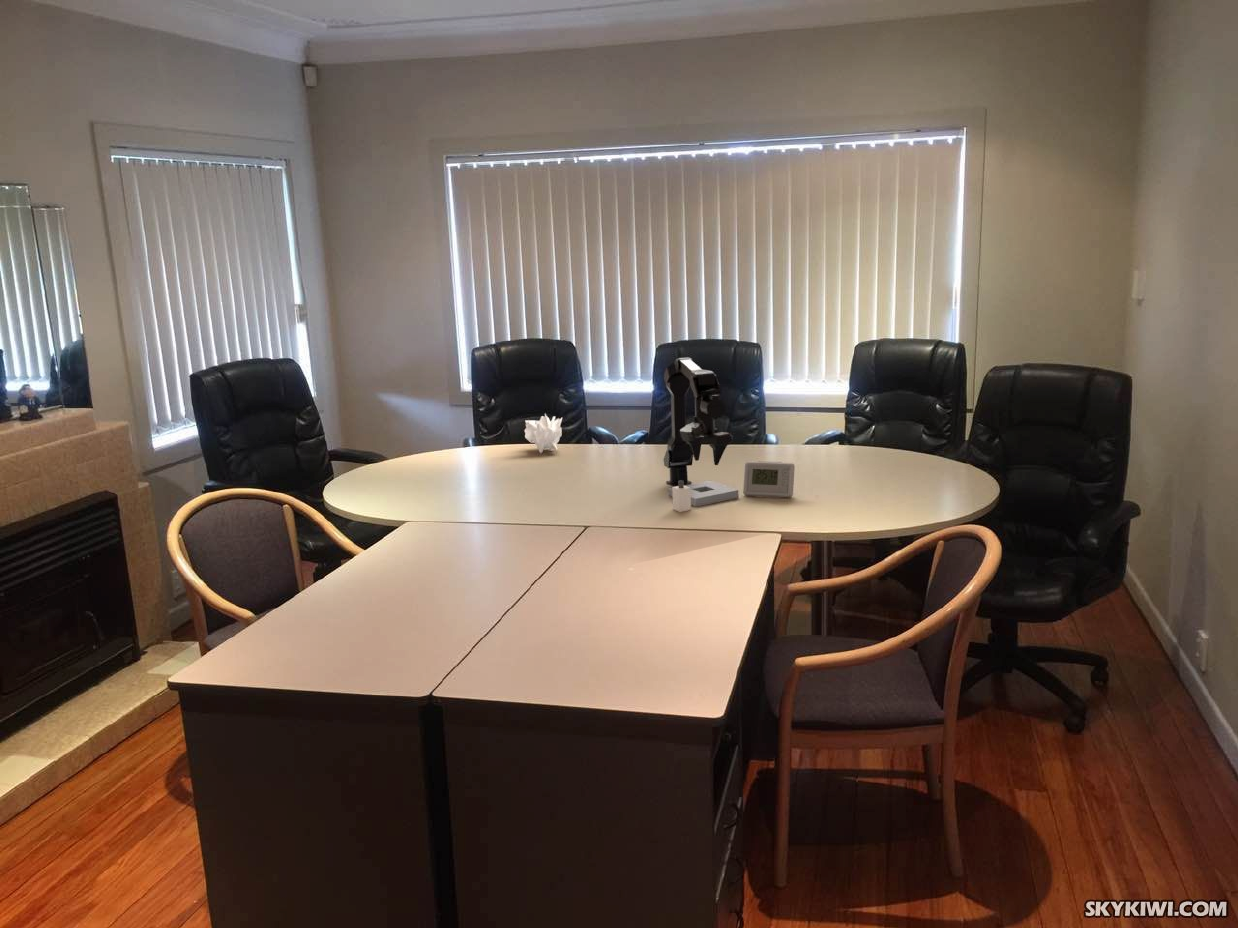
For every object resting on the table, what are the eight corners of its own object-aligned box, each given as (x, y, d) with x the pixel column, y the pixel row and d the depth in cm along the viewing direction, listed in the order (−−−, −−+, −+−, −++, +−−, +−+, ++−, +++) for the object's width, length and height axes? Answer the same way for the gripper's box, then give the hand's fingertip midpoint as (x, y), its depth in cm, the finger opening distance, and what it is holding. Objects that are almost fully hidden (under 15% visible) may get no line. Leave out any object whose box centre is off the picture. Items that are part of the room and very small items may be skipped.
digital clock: (740, 496, 327) (739, 463, 324) (753, 489, 334) (752, 457, 332) (787, 501, 318) (786, 468, 315) (799, 494, 325) (798, 461, 323)
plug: (673, 509, 316) (671, 480, 314) (684, 506, 318) (683, 478, 316) (680, 511, 313) (678, 483, 311) (691, 509, 315) (690, 481, 313)
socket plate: (669, 496, 332) (668, 488, 331) (710, 487, 339) (710, 480, 338) (695, 506, 318) (695, 498, 317) (738, 497, 325) (738, 490, 324)
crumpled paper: (576, 418, 407) (547, 399, 399) (562, 456, 401) (532, 438, 393) (549, 425, 423) (520, 408, 415) (535, 462, 416) (506, 445, 409)
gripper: (665, 413, 316) (667, 462, 320) (704, 420, 301) (706, 472, 305) (692, 408, 322) (694, 456, 326) (732, 415, 307) (734, 465, 311)
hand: (706, 462), depth 317 cm, fingers open, 9 cm apart
